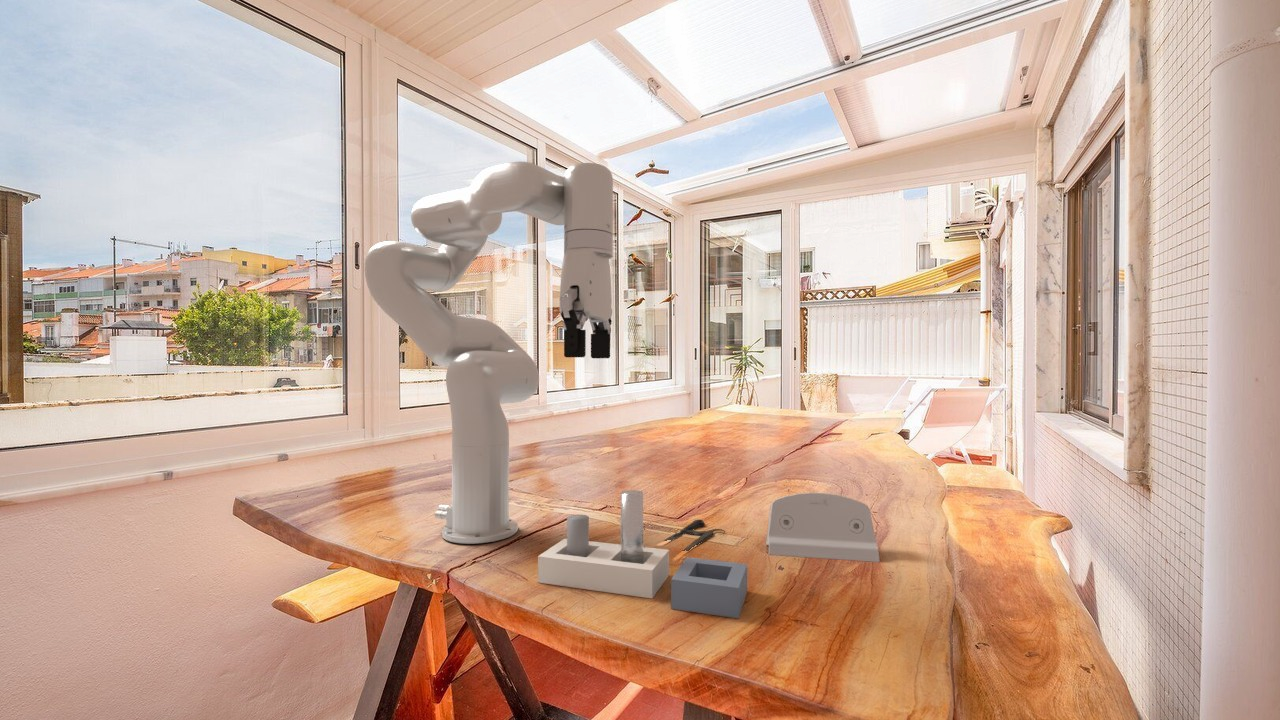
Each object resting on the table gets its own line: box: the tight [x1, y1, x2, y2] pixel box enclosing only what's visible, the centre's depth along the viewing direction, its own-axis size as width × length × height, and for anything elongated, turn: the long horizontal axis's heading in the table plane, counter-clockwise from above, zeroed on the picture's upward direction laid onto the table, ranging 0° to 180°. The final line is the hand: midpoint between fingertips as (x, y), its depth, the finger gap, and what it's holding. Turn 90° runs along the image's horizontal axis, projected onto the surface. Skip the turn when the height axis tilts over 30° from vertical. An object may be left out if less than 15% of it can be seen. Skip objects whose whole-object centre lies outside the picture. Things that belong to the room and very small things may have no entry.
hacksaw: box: [663, 519, 726, 552], centre depth 88 cm, size 24×10×2 cm, turn 147°
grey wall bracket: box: [765, 492, 880, 563], centre depth 86 cm, size 17×5×10 cm, turn 79°
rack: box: [537, 514, 670, 599], centre depth 74 cm, size 16×8×8 cm, turn 72°
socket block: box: [670, 556, 748, 619], centre depth 68 cm, size 8×8×4 cm
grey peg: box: [620, 489, 644, 564], centre depth 73 cm, size 3×3×12 cm
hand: (588, 357), depth 84 cm, fingers open, 9 cm apart
